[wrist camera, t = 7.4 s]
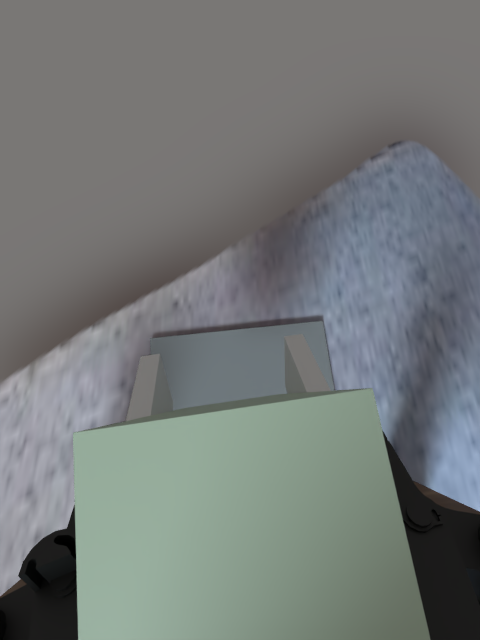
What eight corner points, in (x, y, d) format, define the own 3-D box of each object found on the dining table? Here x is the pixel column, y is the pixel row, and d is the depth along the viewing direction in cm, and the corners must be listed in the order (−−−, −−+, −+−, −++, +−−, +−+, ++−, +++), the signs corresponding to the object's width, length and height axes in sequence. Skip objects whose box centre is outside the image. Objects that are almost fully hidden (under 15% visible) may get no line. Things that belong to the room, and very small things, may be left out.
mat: (321, 322, 31) (322, 320, 30) (335, 409, 29) (337, 409, 28) (151, 339, 30) (150, 338, 30) (155, 429, 28) (154, 429, 28)
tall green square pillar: (278, 394, 17) (372, 387, 6) (294, 497, 16) (458, 763, 4) (183, 408, 17) (73, 432, 5) (194, 513, 16) (83, 843, 4)
